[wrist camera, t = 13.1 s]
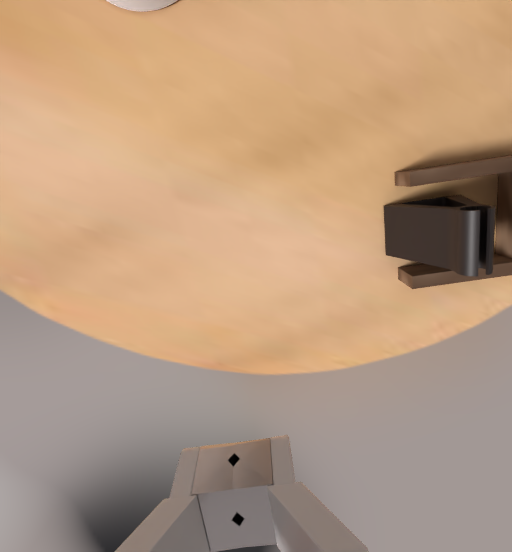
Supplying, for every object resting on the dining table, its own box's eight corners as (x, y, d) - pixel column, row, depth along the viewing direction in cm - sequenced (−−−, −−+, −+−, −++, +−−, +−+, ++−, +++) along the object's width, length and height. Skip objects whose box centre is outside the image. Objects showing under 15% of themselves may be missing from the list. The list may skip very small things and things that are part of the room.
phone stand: (458, 194, 42) (538, 201, 30) (457, 244, 43) (533, 269, 32) (382, 205, 42) (433, 216, 30) (384, 254, 44) (433, 282, 32)
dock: (394, 172, 41) (411, 171, 37) (512, 154, 40) (543, 152, 36) (398, 279, 44) (414, 290, 40) (506, 263, 44) (534, 273, 40)
